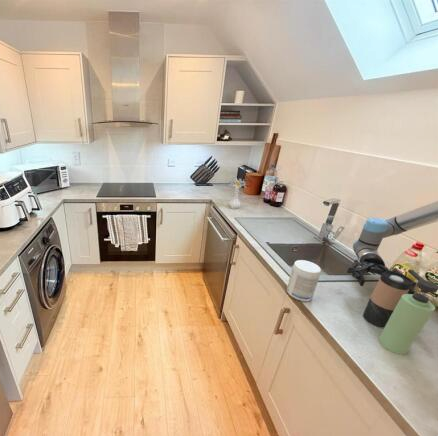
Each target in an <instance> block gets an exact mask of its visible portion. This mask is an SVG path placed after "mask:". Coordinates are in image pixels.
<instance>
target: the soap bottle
mask: <svg viewBox="0 0 438 436" xmlns="http://www.w3.org/2000/svg"><path fill="white" fill-rule="evenodd" d="M435 310H436V306H435V305H434V304H433V303H432V302H431V301H430V298H429V297H428V296H426V295H425V294H423V293H420V292H419V293H418V292H415V293H414V294H403V295H402V297H401V298H400V300H399V302H398V304H397V306H396V307H395V309H394V311H393V313H392V315H391V316H390V318H389V320H388V322H387V324H386V325H385V327H384V328H382V331H381V333H380V335H379V336H378V338H377V340H378V342H379V344H380V346H382V347H383V348H385V349H386V350H387V351H389V352H391V353H393V354H396V355H401V356H403V355H407V354H408V352H409V350H410V349H411V348H412V346H413V344H414V343H415V341H416V340H417V338H418V336H419V335H420V333H421V332H422V330H423V329H424V328H425V326H426V324H427V322H428V321H429V319H430V318H431V317H432V315H433V314H434V312H435Z"/></svg>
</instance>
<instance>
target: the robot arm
mask: <svg viewBox="0 0 438 436" xmlns="http://www.w3.org/2000/svg"><path fill="white" fill-rule="evenodd" d="M436 222H437V223H438V200H435V201H433V202H431V203H428V204H425V205H422V206H419V207H417V208H415V209H412V210H409V211H407V212H404V213H401V214H399V215H396V216H393V217H390V218H388V219H381V218H378V217H377V218H376V217H369V218H368V219H366V220H365V223H364V224H363V227H362V230H361V232H360V235H359V237H358V239H357V240H355V241H354V242H353V244H352V248H353V252H354V254H355V256H356V257H357V259H354V261H353V262H352V264H351V265H350V266H348V267H347V270H346V273H347V274H351V277H353V278H354V279H356V280H357V282H358V284H359V286H360V287H364V284H365V282H366V279H365V276H364V274H368V273H371V274H375V275H380V276H381V275H382V273H384V272H386V271H393V272H397V273H400V274H403V275H405V274H404V273H402V272H401V271H399V269H397V268H395V267H393V268H392V269H391V268H388V266H386V263H385V261H384V260H383V258H382V256H381V255H380V253H379V252H378V249H379V247H380V245H381V243H382V242H383V239H385V238H388V237H391V236H392V237H393V236H397V235H400V234H402V233H405V232H409V231H411V230H415V229H418V228H422V227H424V226H427V225H431V224H434V223H436ZM411 280H412V281H413V284H412V285H411V287H410V289H409V291H408V293H407V294H414V293H416V291H414V290H415V287H417V283H418V282H416V281H414V280H413V279H411Z"/></svg>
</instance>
